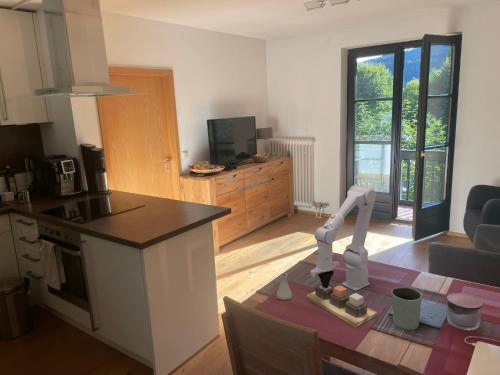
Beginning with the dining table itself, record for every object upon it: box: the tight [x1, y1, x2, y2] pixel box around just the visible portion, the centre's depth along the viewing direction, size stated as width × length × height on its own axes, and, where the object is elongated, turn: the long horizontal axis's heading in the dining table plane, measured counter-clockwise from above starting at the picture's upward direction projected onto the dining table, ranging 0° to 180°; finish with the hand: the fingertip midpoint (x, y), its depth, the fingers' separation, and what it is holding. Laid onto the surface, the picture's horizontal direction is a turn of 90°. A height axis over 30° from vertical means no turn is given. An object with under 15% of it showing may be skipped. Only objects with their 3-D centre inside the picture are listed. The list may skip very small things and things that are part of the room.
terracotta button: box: [333, 284, 348, 299], centre depth 145 cm, size 4×4×3 cm
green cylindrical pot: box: [390, 286, 423, 331], centre depth 133 cm, size 10×10×12 cm
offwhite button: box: [319, 286, 332, 291], centre depth 152 cm, size 4×4×3 cm
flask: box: [275, 272, 294, 301], centre depth 155 cm, size 7×7×10 cm
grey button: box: [349, 292, 364, 307], centre depth 138 cm, size 4×4×3 cm
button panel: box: [305, 283, 378, 328], centre depth 146 cm, size 12×26×5 cm, turn 34°
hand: (325, 287), depth 152 cm, fingers closed, pressing on offwhite button
